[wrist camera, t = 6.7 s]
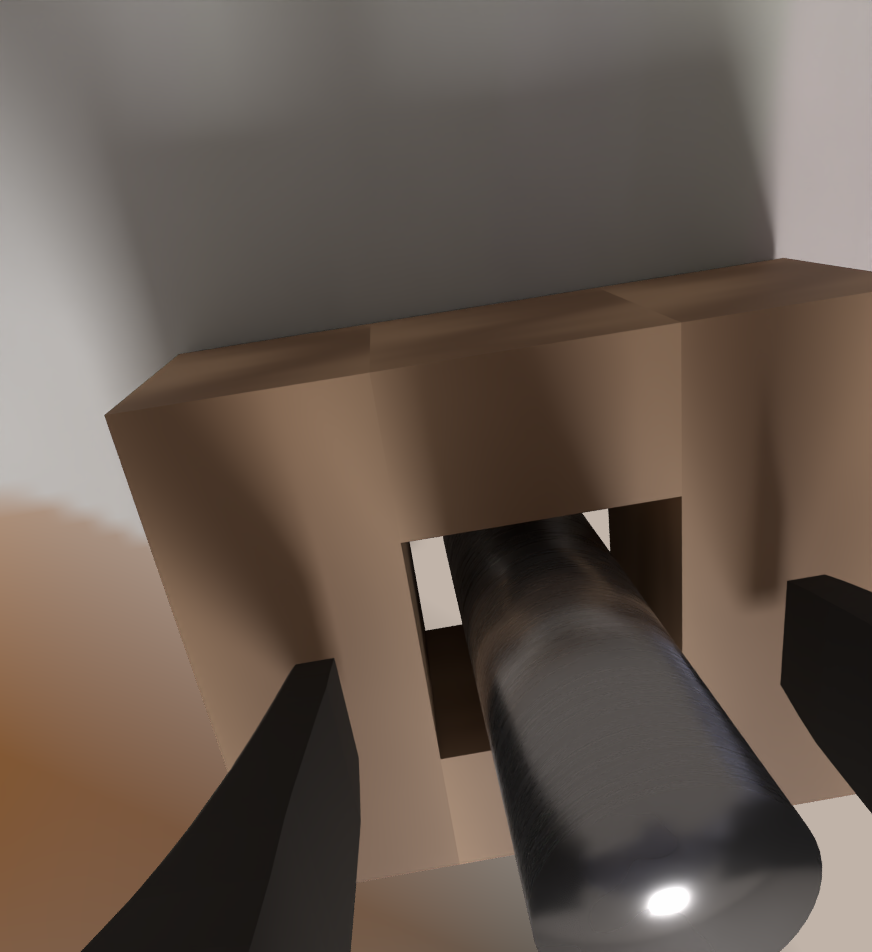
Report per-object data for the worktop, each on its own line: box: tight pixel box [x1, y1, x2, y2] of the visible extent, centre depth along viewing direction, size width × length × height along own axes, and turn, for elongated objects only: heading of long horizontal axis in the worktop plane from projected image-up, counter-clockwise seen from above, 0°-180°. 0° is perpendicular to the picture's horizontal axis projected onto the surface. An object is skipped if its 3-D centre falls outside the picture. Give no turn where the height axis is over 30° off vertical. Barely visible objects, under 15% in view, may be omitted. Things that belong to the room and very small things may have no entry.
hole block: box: [104, 258, 872, 883], centre depth 14 cm, size 12×10×4 cm
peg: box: [443, 513, 822, 952], centre depth 11 cm, size 3×3×9 cm
